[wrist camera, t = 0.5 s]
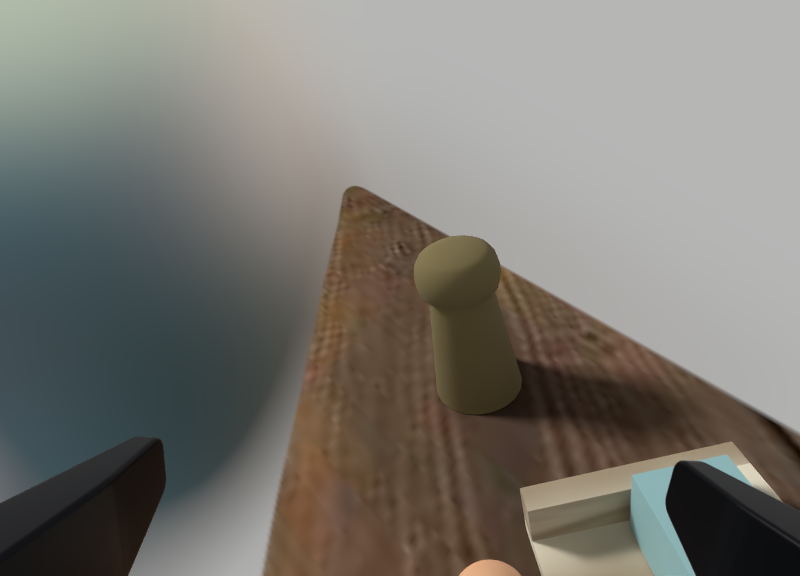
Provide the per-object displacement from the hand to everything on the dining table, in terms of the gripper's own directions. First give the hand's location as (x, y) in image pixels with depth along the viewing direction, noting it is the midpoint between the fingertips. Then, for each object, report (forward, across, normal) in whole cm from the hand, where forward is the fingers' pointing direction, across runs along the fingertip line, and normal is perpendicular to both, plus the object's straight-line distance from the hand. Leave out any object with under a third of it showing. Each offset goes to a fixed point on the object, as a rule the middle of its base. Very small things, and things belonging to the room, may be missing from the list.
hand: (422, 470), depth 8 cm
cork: (+23, -6, +10) cm, 26 cm away
